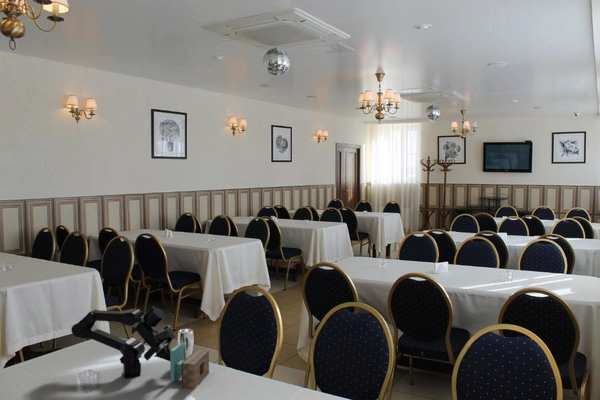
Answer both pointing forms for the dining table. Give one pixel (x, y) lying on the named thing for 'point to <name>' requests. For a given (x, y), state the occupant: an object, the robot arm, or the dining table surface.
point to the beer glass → (186, 341)
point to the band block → (195, 368)
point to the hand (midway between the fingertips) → (173, 361)
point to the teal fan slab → (176, 361)
